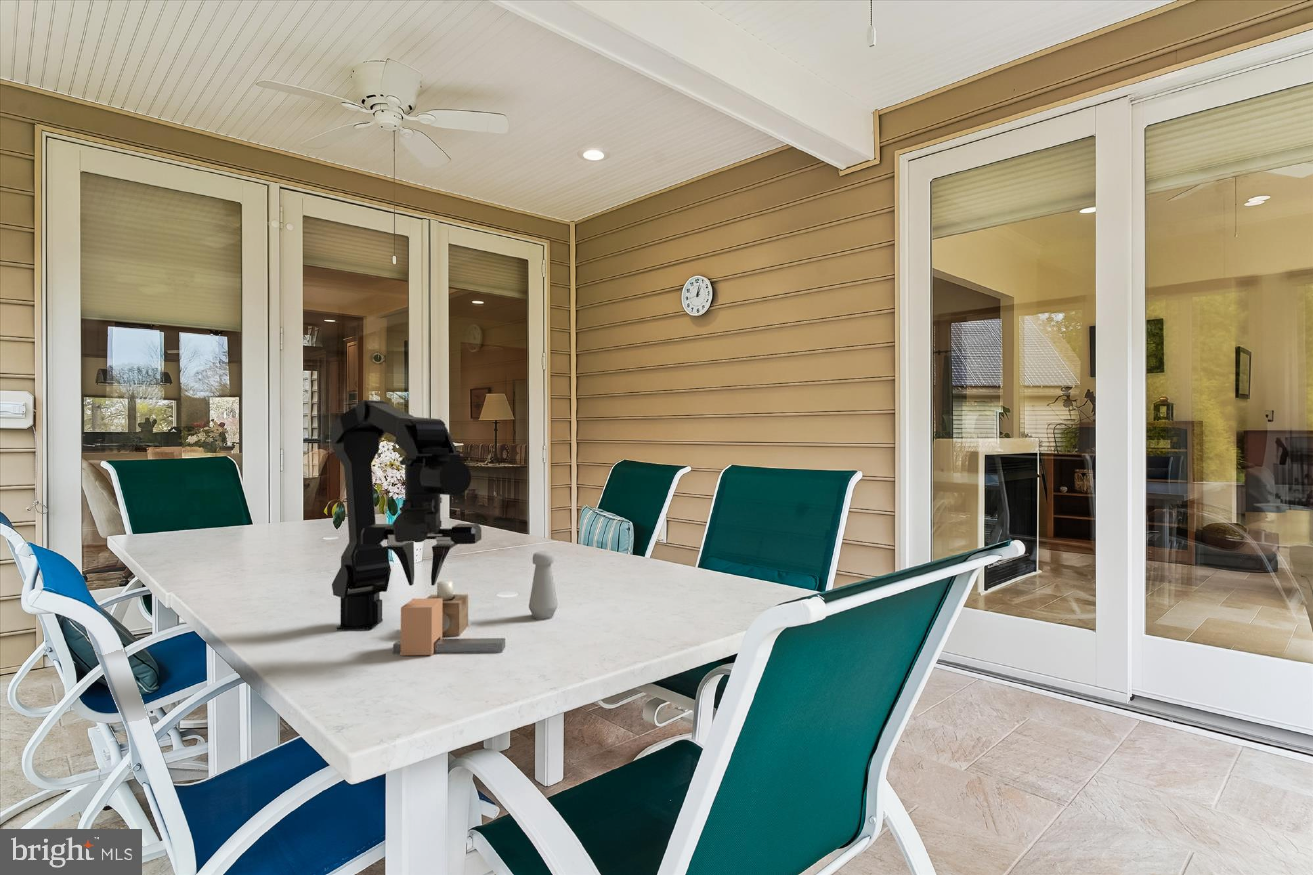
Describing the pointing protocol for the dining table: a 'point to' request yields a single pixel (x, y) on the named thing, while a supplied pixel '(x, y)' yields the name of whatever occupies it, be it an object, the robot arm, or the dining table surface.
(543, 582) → the salt shaker
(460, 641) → the rail
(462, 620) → the cabinet
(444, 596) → the plunger
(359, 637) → the dining table surface
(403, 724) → the dining table surface
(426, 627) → the block
